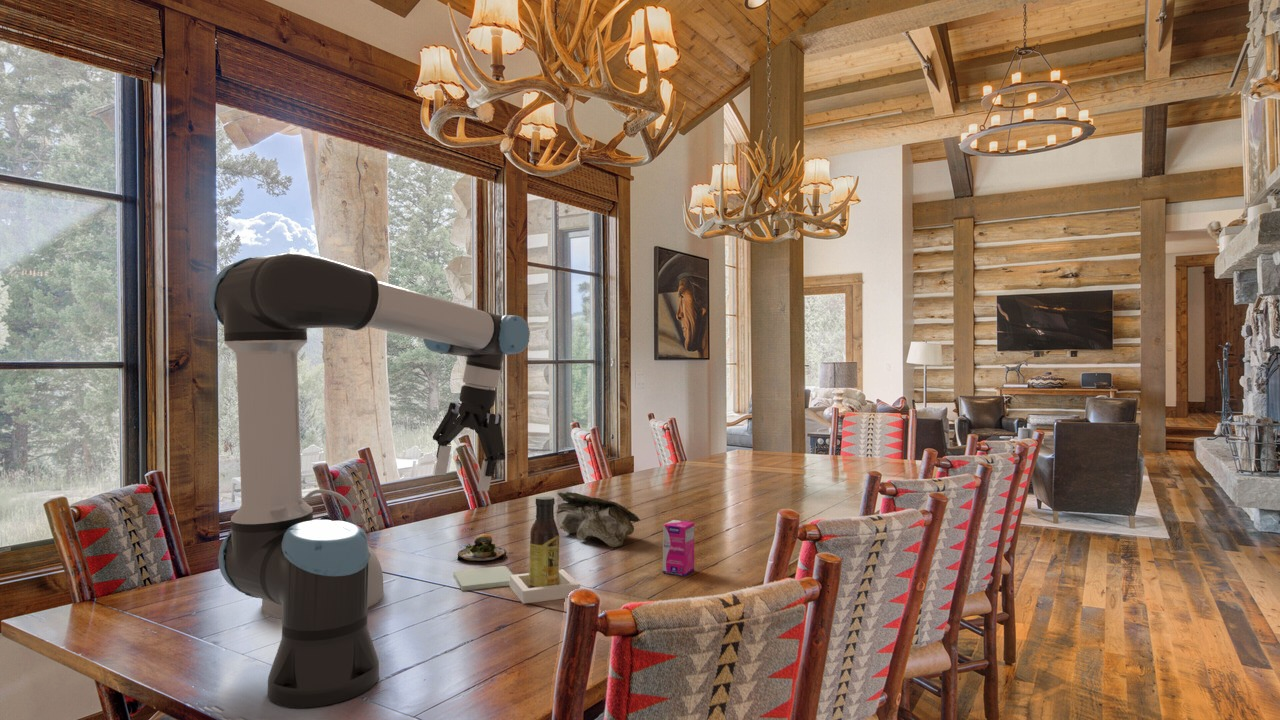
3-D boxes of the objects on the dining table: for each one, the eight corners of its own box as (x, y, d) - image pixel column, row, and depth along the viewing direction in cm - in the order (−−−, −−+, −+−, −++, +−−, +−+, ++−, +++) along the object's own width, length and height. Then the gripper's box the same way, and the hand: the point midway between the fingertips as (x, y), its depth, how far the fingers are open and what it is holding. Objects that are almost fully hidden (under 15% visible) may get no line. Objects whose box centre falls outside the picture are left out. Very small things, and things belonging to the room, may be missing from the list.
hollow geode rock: (559, 546, 205) (529, 514, 198) (583, 512, 212) (555, 479, 205) (625, 563, 185) (594, 527, 178) (649, 524, 191) (620, 488, 184)
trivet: (462, 591, 148) (462, 586, 148) (453, 575, 159) (453, 571, 159) (517, 584, 153) (517, 579, 153) (505, 569, 164) (505, 565, 164)
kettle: (414, 596, 145) (416, 487, 145) (316, 631, 125) (317, 505, 126) (338, 577, 158) (339, 478, 158) (237, 606, 138) (238, 492, 138)
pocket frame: (523, 603, 140) (523, 591, 140) (509, 586, 151) (509, 575, 151) (579, 596, 145) (579, 584, 145) (562, 580, 156) (562, 569, 156)
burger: (448, 562, 171) (448, 532, 171) (474, 551, 182) (474, 522, 182) (490, 567, 167) (491, 536, 167) (515, 555, 178) (515, 525, 178)
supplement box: (661, 573, 162) (662, 524, 162) (672, 567, 167) (672, 519, 167) (684, 577, 159) (684, 526, 159) (695, 570, 164) (695, 521, 164)
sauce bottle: (553, 597, 144) (553, 501, 145) (524, 595, 146) (525, 500, 146) (562, 587, 151) (563, 495, 151) (535, 585, 152) (536, 494, 152)
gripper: (533, 398, 148) (514, 496, 148) (453, 378, 161) (436, 468, 161) (509, 396, 141) (489, 498, 141) (428, 375, 155) (410, 468, 155)
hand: (461, 482), depth 151 cm, fingers open, 13 cm apart
